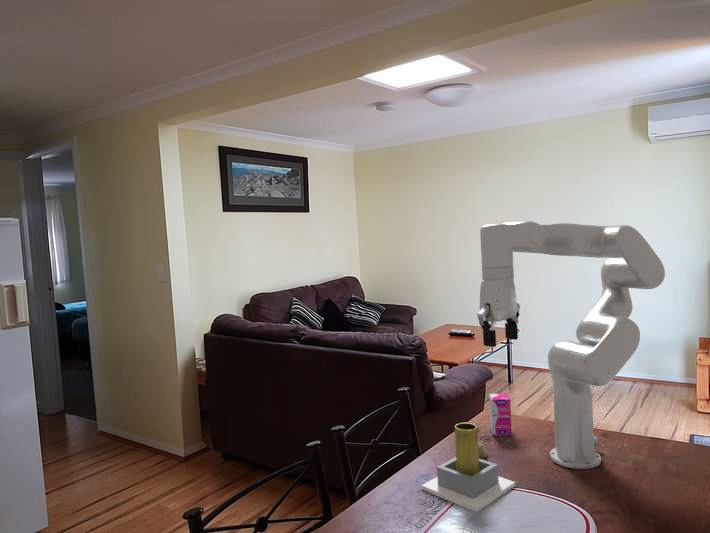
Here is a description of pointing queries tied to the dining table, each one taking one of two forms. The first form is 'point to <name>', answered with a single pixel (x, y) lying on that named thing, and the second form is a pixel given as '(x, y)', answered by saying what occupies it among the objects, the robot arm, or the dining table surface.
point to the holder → (468, 485)
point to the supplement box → (500, 414)
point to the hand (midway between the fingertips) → (501, 342)
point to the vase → (467, 449)
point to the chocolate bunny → (481, 449)
